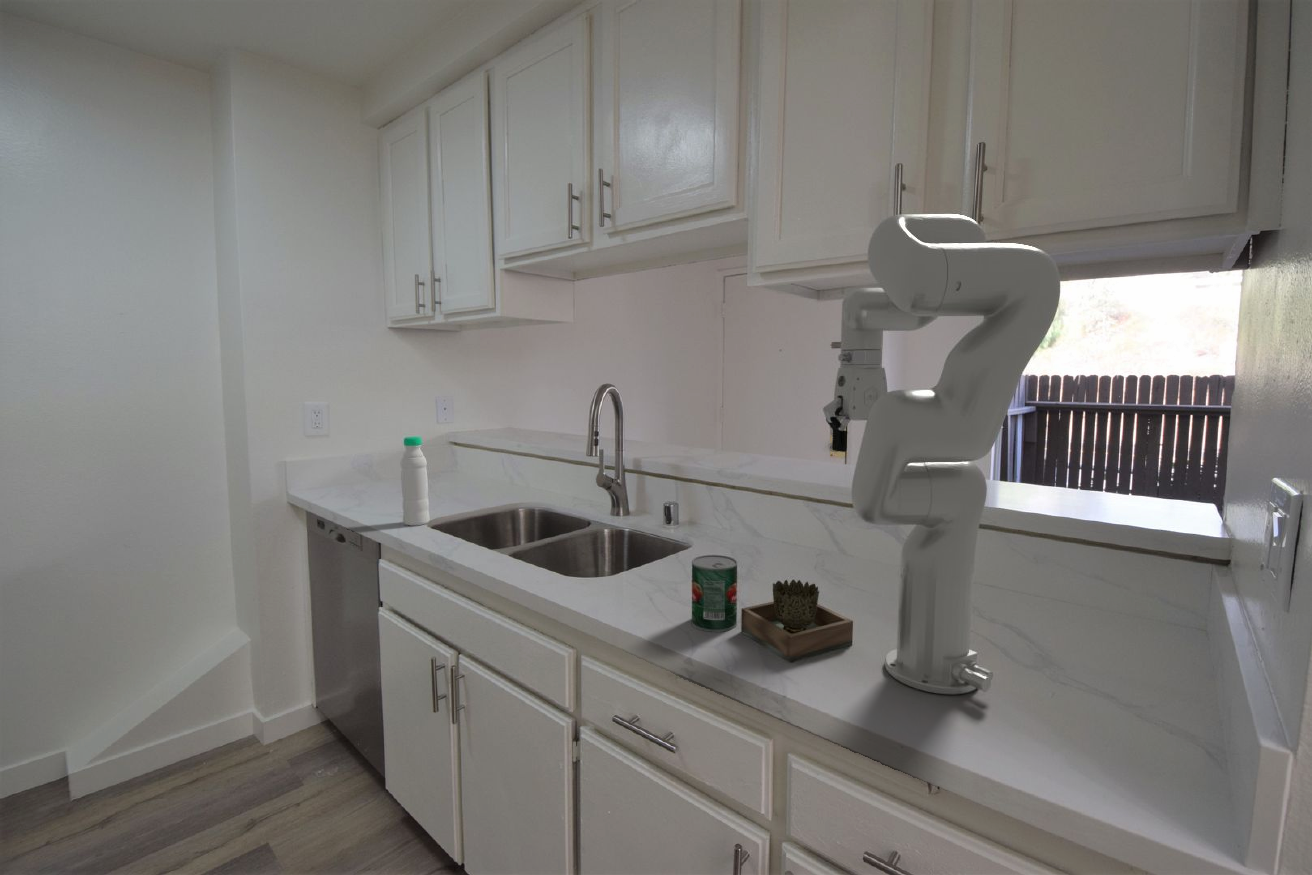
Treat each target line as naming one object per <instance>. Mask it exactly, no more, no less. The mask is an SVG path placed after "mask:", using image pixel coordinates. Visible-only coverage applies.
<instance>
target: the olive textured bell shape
mask: <svg viewBox="0 0 1312 875" xmlns="http://www.w3.org/2000/svg"><path fill="white" fill-rule="evenodd" d="M819 594H820V590H819V587H818V586H816V583H811V584H810V585H809V582H808V581H806V582H805V583H804V584H803V583H802V581H801V580H800V579H799V580H797V582H796V580H795V579H792V580H791V581H790V583H789V581H788V579H786V580H784V582H783V583H782V581H781V580H777V581H776V583H774V582H773V583H772V596H773V597H772V598H773V599H772V600H773V601H774V608H775V613H776V617H777V619H778V620H779V622H780V623H781V624H783V625H784V627H783V629H784V630H785V631H787V632H789V633H791V634H793V633H797V632H801V631H805V630H806V627H807V626H809V625H810V624H811V623H812V622H813V620H814V618H815V614H816V610H817V604H819V603H818V601H819Z"/></svg>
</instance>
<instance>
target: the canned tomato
mask: <svg viewBox="0 0 1312 875" xmlns="http://www.w3.org/2000/svg"><path fill="white" fill-rule="evenodd" d="M738 563H739V562H738V561H737V559H735V558H733V557H731V556H727V555H720V554H719V555H718V554H707V555H701V556H697V557H694V558H693V559H692V560H691V624H692V625H694V626H693V627H695V628H696V629H698V630H700V629H702V630H701V631H704V630H706V631H705V632H710V631H712V632H714V633H720V632H726V631H730V630H733V629H734V628H735V627H736V626H737V625H738V620H737V619H738V618H737V617H738V613H737V612H738V611H737V610H738V606H737V605H738Z"/></svg>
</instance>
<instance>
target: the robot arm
mask: <svg viewBox="0 0 1312 875" xmlns="http://www.w3.org/2000/svg"><path fill="white" fill-rule="evenodd" d="M867 263H868V264H867V265H868V268H869V271H870V272H871V275H872V277H873V278H874V280H875V281H876V283H878V285H879V286H880V287H859V288H856V289H854V290H852V291H851V293H850V294H849V295H846V296H845V297H844V298H843V300H842V304H841V326H840V327H841V329H840V330H841V334H840V354H839V355H838V361H840V362H839V364H840V367H838V370H837V375H836V380H835V385H834V395H833V400H832V401H831V402H829V403H828V404H826V405H825V406H824V407H822V411H823V414H824V417H825V422H826V423H827V424H828V425H829V429H830V430H831V431H832V439H831V440H832V442H831V443H832V445H831V447H832V448H831V449H832V450H833V451H835V452H841V453H846V452H847V451H848V449H847V448H848V430H845V429H846V428H847V426H848V425H849V423H850V421H851V420H852V421H866V422H865V426H864V431H863V435H862V438H861V440H862V441H861V442H860V443H861V444H860V448H859V451H858V454H857V455H858V456H857V460H856V464H855V467H854V473H853V476H852V482H851V483H852V484H851V504H852V507H853V510H854V512H855V513H856V515H857V516H858V517H859V519H861V520H862V521H863V522H865V523H868V524H871V525H872V524H873V525H876V526H877V525H880V526H892V525H893V526H895V525H896V526H897V525H898V526H901V525H902V526H908V525H915V526H914V527H913V529H912V530H911V531H910V532H909V534H908V536H907V537H906V539H905V540H904V543H903V546H902V549H901V552H900V565H899V585H898V608H897V609H898V610H897V611H898V612H897V614H898V615H897V635H896V640H897V641H896V648H895V649H892V650H891V651H889V652H888V653H887V654H886V656H885V659H884V660H885V661H884V667H885V669H886V671H887V672H888V674H890V676H891V677H893V678H894V679H895V680H897V681H898V682H900V683H902V684H904V685H906V686H908V687H910V688H911V687H912V688H913V689H916V690H918V691H919V690H920V691H922V692H923V691H924V692H928V693H931V694H932V693H934V694H940V695H960V694H961V695H962V694H967V693H970V692H972V691H974V690H976V689H978V690H979V691H982V692H983V693H986V692H988V691H989V690H990V688H991V684H992V680H993V678H994V672H993V671H991V670H989V669H987V668H985V667H981V666H979V664H978V663H977V655H978V654H977V651H974V650H972V649H971V634H972V633H971V629H972V612H973V611H972V610H973V595H974V594H973V593H974V574H975V562H976V559H975V558H976V548H977V538H978V534H979V528H980V524H981V520H982V515H983V512H984V508H985V504H986V500H987V491H988V487H987V486H988V484H987V480H986V476H985V475H984V472H983V471H982V470H981V468H980V467H979V466H978V465H976V464H975V463H974V461H978V460H980V459H983V458H984V457H985V456H987V455H988V454H989V452H991V450H992V448H993V447H994V445H995V443H996V441H997V439H998V437H999V434H1000V433H1001V432H1000V431H1001V429H1002V426H1003V424H1004V421H1005V419H1006V416H1007V414H1008V412H1009V409H1010V406H1011V403H1012V401H1013V399H1014V396H1015V394H1016V391H1017V388H1018V385H1019V383H1020V380H1021V378H1022V375H1023V373H1024V371H1025V369H1026V367H1027V365H1028V364H1029V363H1030V360H1031V359H1032V358H1033V356H1034V354H1035V353H1036V352H1037V350H1038V349H1039V347H1040V346H1041V344H1042V342H1043V341H1044V339H1045V338H1046V335H1047V333H1048V332H1049V330H1050V328H1051V326H1052V324H1053V322H1054V319H1055V317H1056V314H1057V311H1058V307H1059V304H1060V296H1061V277H1060V272H1059V268H1058V266H1057V263H1056V262H1055V260H1054V259H1053V258H1052V257H1051V255H1050V254H1049V253H1047V252H1045V251H1044V250H1042V249H1040V248H1037V247H1034V246H1031V245H1030V246H1029V245H1026V244H1025V245H1024V244H1019V243H1005V242H1004V243H1002V242H1001V243H1000V242H997V243H996V242H987V239H986V234H985V231H984V229H983V227H982V226H981V225H980V224H979V223H978V222H977V221H975V220H974V219H972V218H970V217H967V216H965V215H960V214H954V213H953V214H952V213H936V214H935V213H929V214H928V213H919V214H918V213H917V214H915V213H905V214H895V215H891V216H889V217H888V216H887V217H886V218H885V219H884V220H882V221H881V222H880V223H879V224H878V225H877V226H876V228H875V229H874V231H873V233H872V235H871V237H870V239H869V243H868V249H867ZM977 316H978V317H982V316H983V320H982V321H981V322H980V323H979V324H978V325H977V326H975V327H973V328H972V329H970V330H969V332H968V333H966V334H965V335H963V337H962V338H961V339H960V340H959V341H958V342H957V343H956V344H955V345H954V347H953V348H952V349H951V350H950V352H949V353H948V354H947V357H946V359H945V362H944V364H943V368H942V372H941V374H940V378H939V379H938V382H937V384H936V385H935V386H933V387H931V388H927V389H926V388H924V389H916V388H915V389H897V390H891V391H888V382H887V380H888V379H887V374H886V369H885V367H883V365H882V364H883V344H884V343H883V341H884V340H883V339H884V338H883V337H884V332H885V331H886V332H887V331H888V332H891V331H893V332H895V331H896V332H897V331H898V332H900V331H901V332H902V331H903V332H904V331H905V332H911V331H917V330H920V329H923V328H924V327H927V325H929V324H931V323H932V322H934V321H935V320H937V318H938V317H977Z"/></svg>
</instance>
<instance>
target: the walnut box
mask: <svg viewBox="0 0 1312 875" xmlns="http://www.w3.org/2000/svg"><path fill="white" fill-rule="evenodd" d="M740 614H741V617H740V618H741V619H740V621H741V622H740V623H741V624H740V629H741V630H740V631H741V633H743V634H744V635H746V636H748V637H750V638H751V639H752V640H754V641H756V642H757V643H759V644H760V645H762V646H763V647H765V648H766V649H768V650H770V651H771V652H773V653H775V654H776V655H778V656H779V657H781V659H782V658H783V659H784V660H785V661H787V662H789V663H794V662H796V661H801V660H805V659H807V658H811V657H815V656H818V655H822V654H825V653H828V652H832V651H835V650H839V649H840V650H841V649H844V648H846V647H847V648H848V647H850V646H853V638H854V637H853V635H854V634H853V633H854V620H852V619H850V618H848V617H845V616H844V615H841V614H839V613H838V612H835V611H833V610H831V609H829V608H827V607H825V606H824V605H820V604H819V603H817V610H816V614H815V618H814V620H813V622H812V623H811V624H810V625H809V626H807V627H806V630H805V631H801V632H797V633H793V634H791V633H789V632H787V631H785V630H784V629H783V627H784V625H783V624H781V623H780V622H779V620H778V619H777V617H776V613H775V608H774V600H773V601H770V602H769V601H768V602H765V603H760V604H757V605H752V606H747V607H743V608H741V613H740Z"/></svg>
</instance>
